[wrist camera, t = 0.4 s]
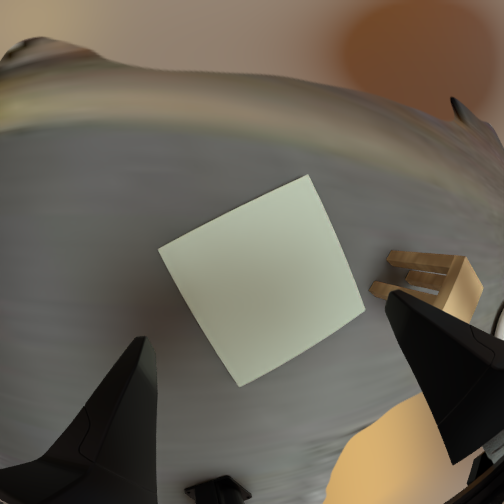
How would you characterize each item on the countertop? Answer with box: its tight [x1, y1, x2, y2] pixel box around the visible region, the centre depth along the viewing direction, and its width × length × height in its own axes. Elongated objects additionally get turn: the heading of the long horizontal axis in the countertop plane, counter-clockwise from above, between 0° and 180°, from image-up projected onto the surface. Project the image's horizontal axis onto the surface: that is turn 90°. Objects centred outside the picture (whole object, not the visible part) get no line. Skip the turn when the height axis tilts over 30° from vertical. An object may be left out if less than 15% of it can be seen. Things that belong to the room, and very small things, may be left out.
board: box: [158, 175, 365, 387], centre depth 23 cm, size 14×14×1 cm
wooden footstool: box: [369, 250, 483, 324], centre depth 22 cm, size 5×5×10 cm
